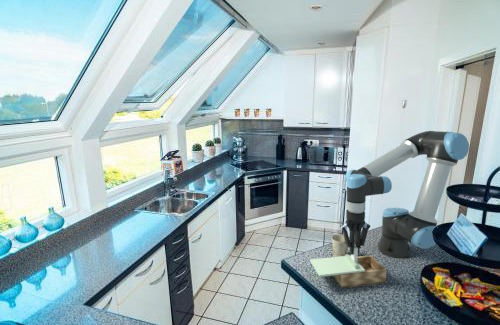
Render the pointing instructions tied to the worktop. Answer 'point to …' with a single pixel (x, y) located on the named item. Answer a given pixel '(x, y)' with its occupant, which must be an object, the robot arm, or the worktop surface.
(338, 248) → the mug
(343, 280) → the lid box
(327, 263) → the lid
